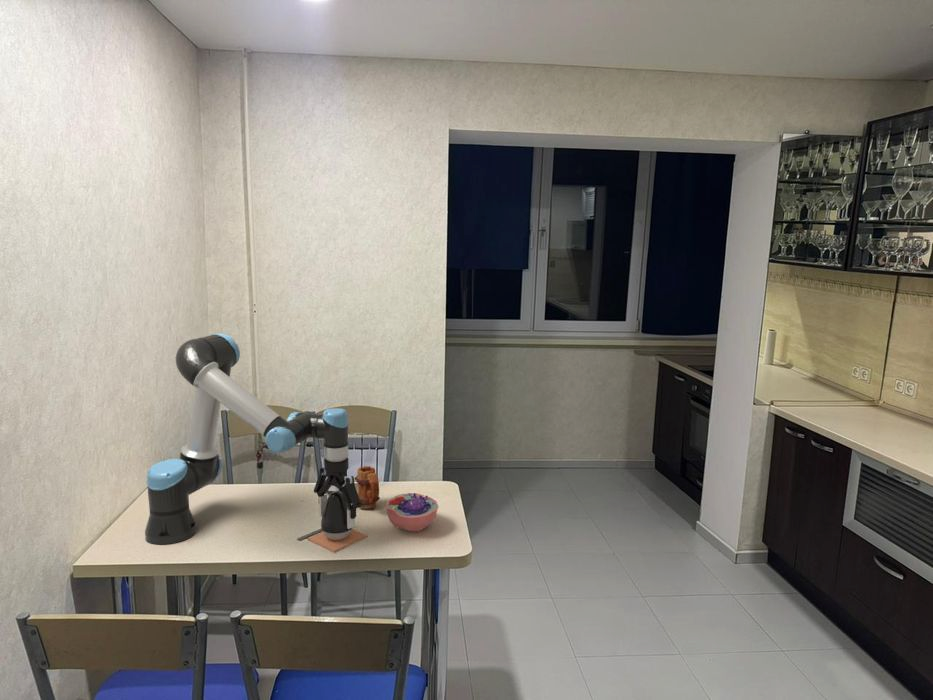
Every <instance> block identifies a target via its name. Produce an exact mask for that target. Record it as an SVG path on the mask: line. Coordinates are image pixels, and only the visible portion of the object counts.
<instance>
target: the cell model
mask: <svg viewBox="0 0 933 700" xmlns="http://www.w3.org/2000/svg"><path fill="white" fill-rule="evenodd" d="M438 509H439V504H438V501H437V500H435V499H434V498H433V497H431V496H428V495H424V494H421V493H415V492H411V493H410V492H406V493H401V494H400V493H399V494H397V495H394V496H393V497H391V498H390V499H388V500H387V502H386V508H385V513H386V516H387V518H388V520H389V522H390V523H391V524H392V525H393V526H394V528H396V529H399V530H404V531H407V532H411V533H415V532H420V531H422V530H423V529H424V528H425V529H426V528H427V527H428V526H429V525H430V524H431V523H433V521H435V519H436V518H437V512H438Z"/></svg>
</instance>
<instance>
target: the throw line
mask: <svg viewBox="0 0 933 700" xmlns="http://www.w3.org/2000/svg"><path fill="white" fill-rule="evenodd" d="M321 532H323V530H322V529H321V528H318V529H316V530H313V531H312V532H309V533H307V534H305V535H302V536H300V537H296V540H297V541H299V542H301V541H303V540H305V539H307V538H309V537H312V536H314V535H316V534H319V533H321Z"/></svg>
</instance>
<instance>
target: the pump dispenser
mask: <svg viewBox="0 0 933 700" xmlns="http://www.w3.org/2000/svg"><path fill="white" fill-rule="evenodd" d="M348 508H349V507H348V505H347V503H346V501H345V499H344V497H343V495H342V493H341V492H333V493H331V494H330V495H328V496H327V501H326V503H325V506H324V509H323V513H322V516H321V520H320V521H321V522H320V527H321V528H320V529H322V530H323V531H322V532H323V533H324V535H325V536H326V537H327V538H328V539H331V540H342V539H344V538H346V537H347V536H348V535H349V534H350V533H351V530H352V529H354V527H352V528H350V529H348V528H347V509H348Z"/></svg>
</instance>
